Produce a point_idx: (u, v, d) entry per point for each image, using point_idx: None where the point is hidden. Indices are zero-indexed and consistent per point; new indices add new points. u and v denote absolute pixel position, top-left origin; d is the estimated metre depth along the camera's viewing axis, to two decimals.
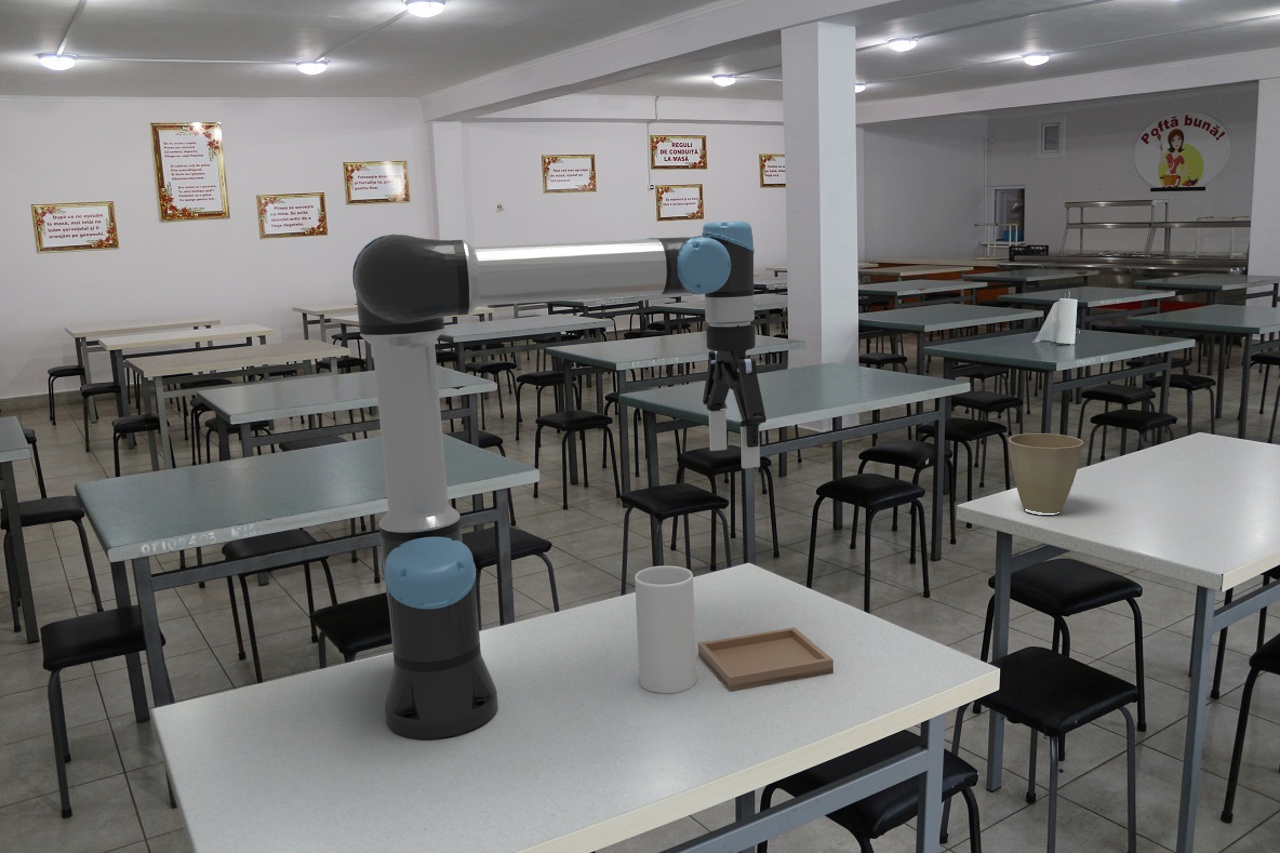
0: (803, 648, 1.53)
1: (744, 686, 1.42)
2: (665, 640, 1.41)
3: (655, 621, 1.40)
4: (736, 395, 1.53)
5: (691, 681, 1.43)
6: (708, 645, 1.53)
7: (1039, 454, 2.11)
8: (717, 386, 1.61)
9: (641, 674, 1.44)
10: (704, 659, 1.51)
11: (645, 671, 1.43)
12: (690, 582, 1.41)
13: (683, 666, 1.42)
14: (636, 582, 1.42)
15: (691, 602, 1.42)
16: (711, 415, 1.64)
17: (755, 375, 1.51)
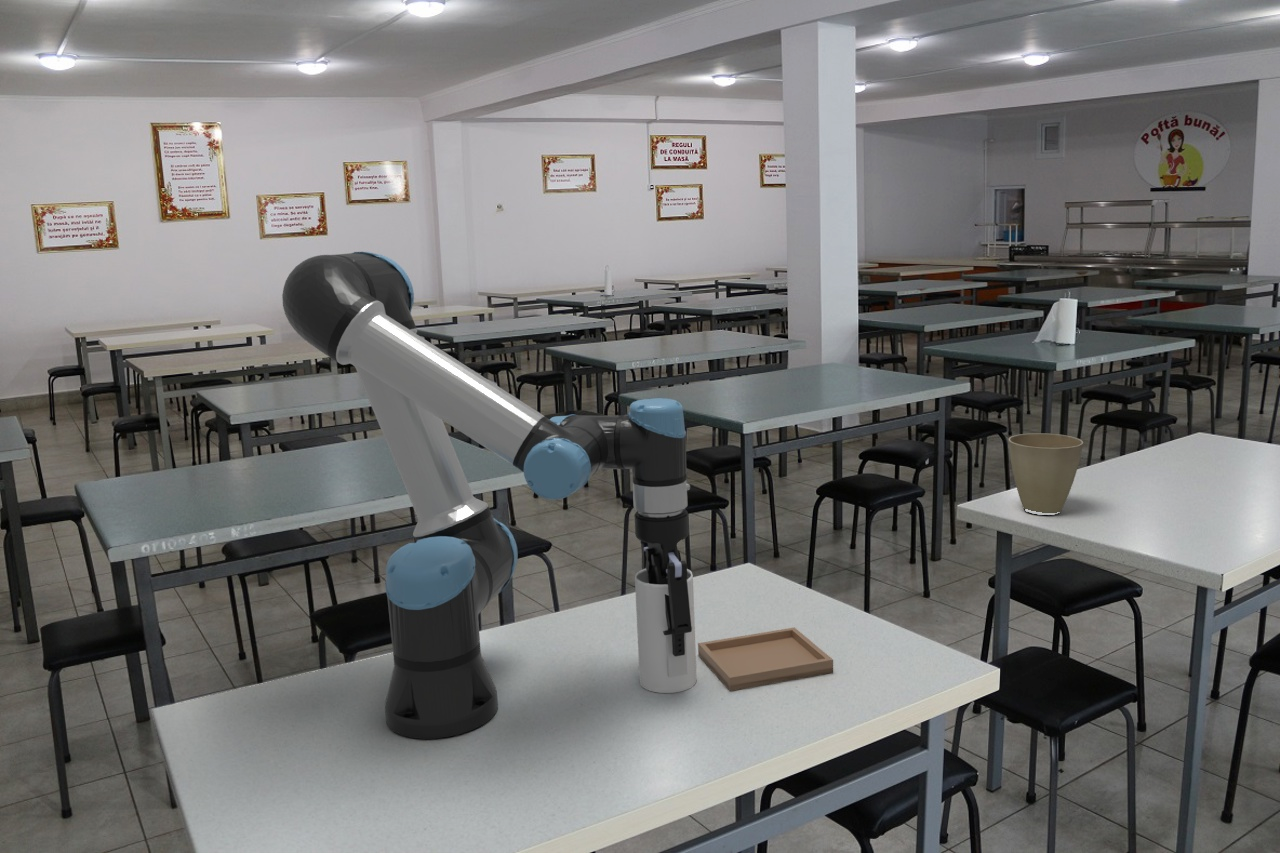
0: (803, 648, 1.53)
1: (744, 686, 1.42)
2: (665, 640, 1.41)
3: (655, 621, 1.40)
4: None
5: (691, 681, 1.43)
6: (708, 645, 1.53)
7: (1039, 454, 2.11)
8: (652, 578, 1.45)
9: (641, 674, 1.44)
10: (704, 659, 1.51)
11: (645, 671, 1.43)
12: (690, 582, 1.41)
13: None
14: (636, 582, 1.42)
15: (691, 602, 1.42)
16: None
17: (685, 580, 1.37)
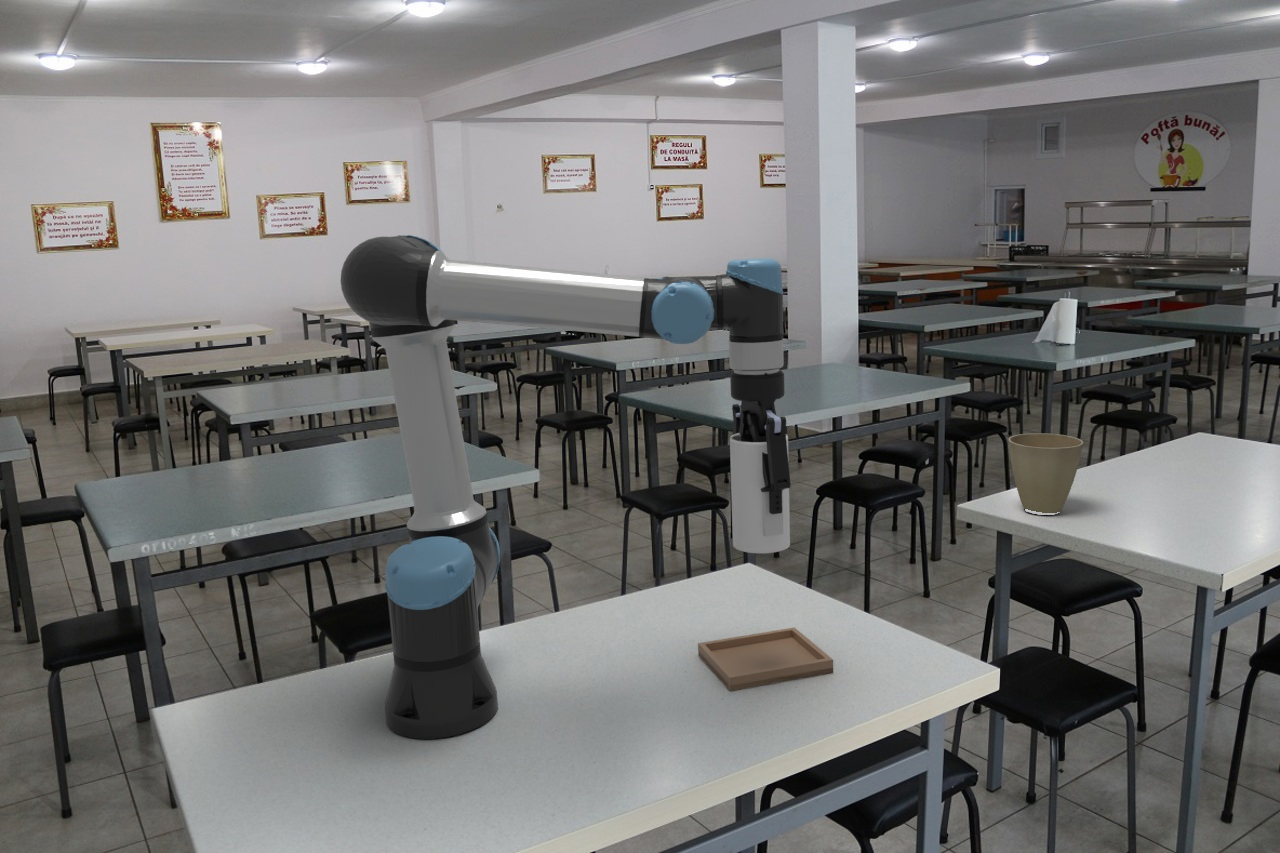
0: (803, 648, 1.53)
1: (744, 686, 1.42)
2: (762, 499, 1.41)
3: (752, 480, 1.41)
4: None
5: (786, 543, 1.44)
6: (708, 645, 1.53)
7: (1039, 454, 2.11)
8: None
9: (736, 536, 1.45)
10: (704, 659, 1.51)
11: (740, 532, 1.43)
12: (786, 442, 1.42)
13: None
14: (732, 442, 1.42)
15: None
16: None
17: (784, 436, 1.37)
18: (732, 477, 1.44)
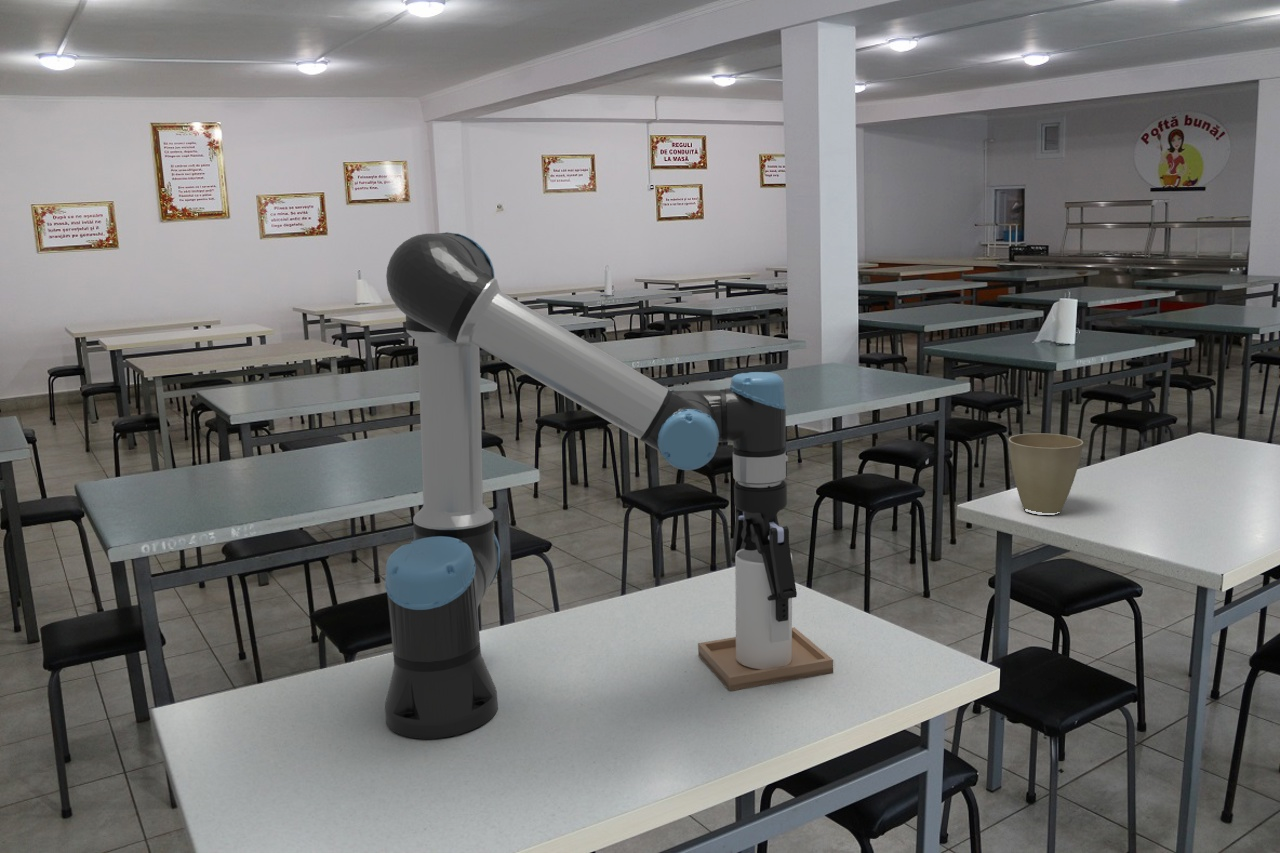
0: (803, 648, 1.53)
1: (744, 686, 1.42)
2: (765, 617, 1.45)
3: (756, 598, 1.44)
4: (765, 562, 1.43)
5: (788, 658, 1.47)
6: (708, 645, 1.53)
7: (1039, 454, 2.11)
8: (746, 545, 1.49)
9: (739, 651, 1.48)
10: (704, 659, 1.51)
11: (744, 648, 1.47)
12: None
13: (781, 643, 1.46)
14: (737, 560, 1.46)
15: None
16: None
17: (787, 545, 1.40)
18: (737, 593, 1.47)
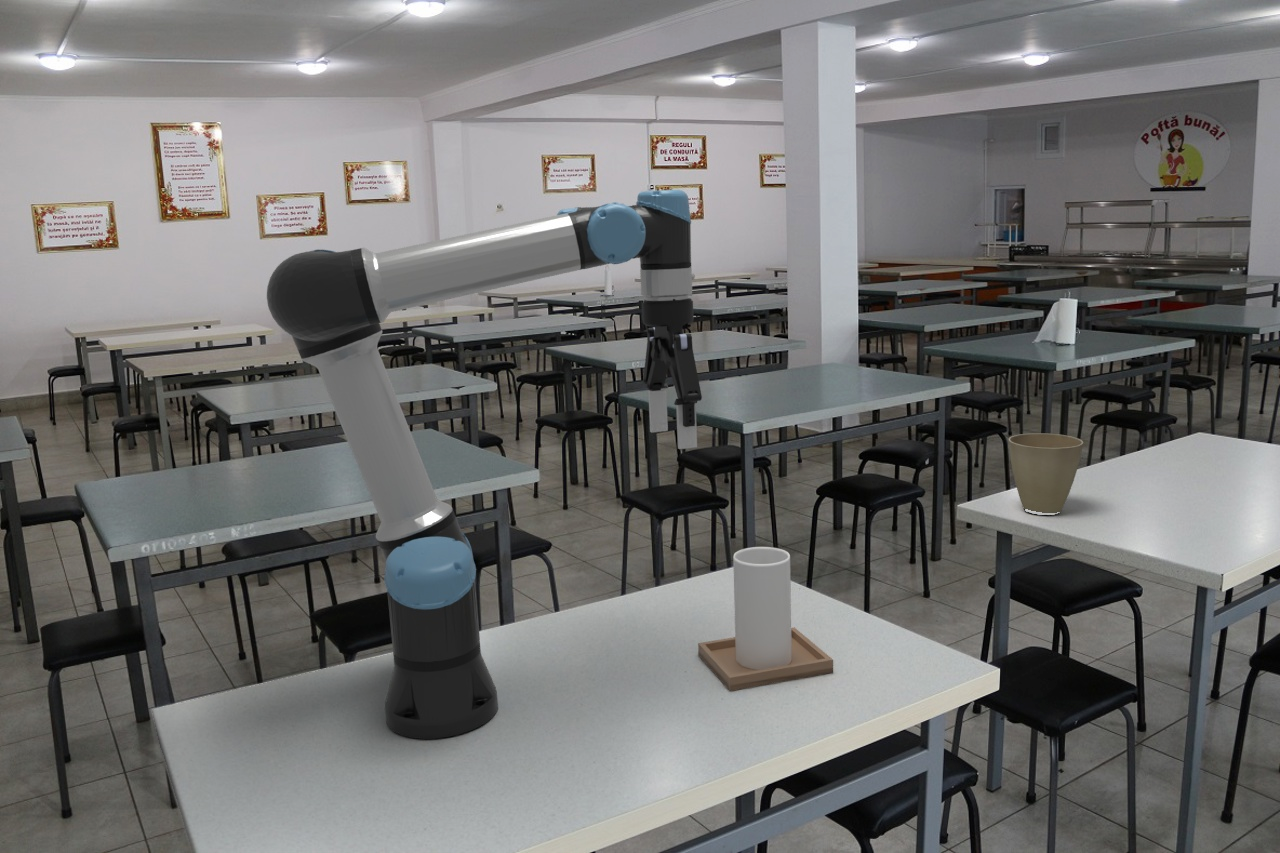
0: (803, 648, 1.53)
1: (744, 686, 1.42)
2: (764, 618, 1.44)
3: (755, 600, 1.44)
4: (672, 372, 1.46)
5: (788, 659, 1.47)
6: (708, 645, 1.53)
7: (1039, 454, 2.11)
8: (656, 364, 1.54)
9: (739, 652, 1.48)
10: (704, 659, 1.51)
11: (743, 649, 1.47)
12: (788, 562, 1.45)
13: (781, 644, 1.46)
14: (735, 562, 1.46)
15: (789, 582, 1.46)
16: (651, 395, 1.57)
17: (691, 351, 1.44)
18: (735, 595, 1.47)
